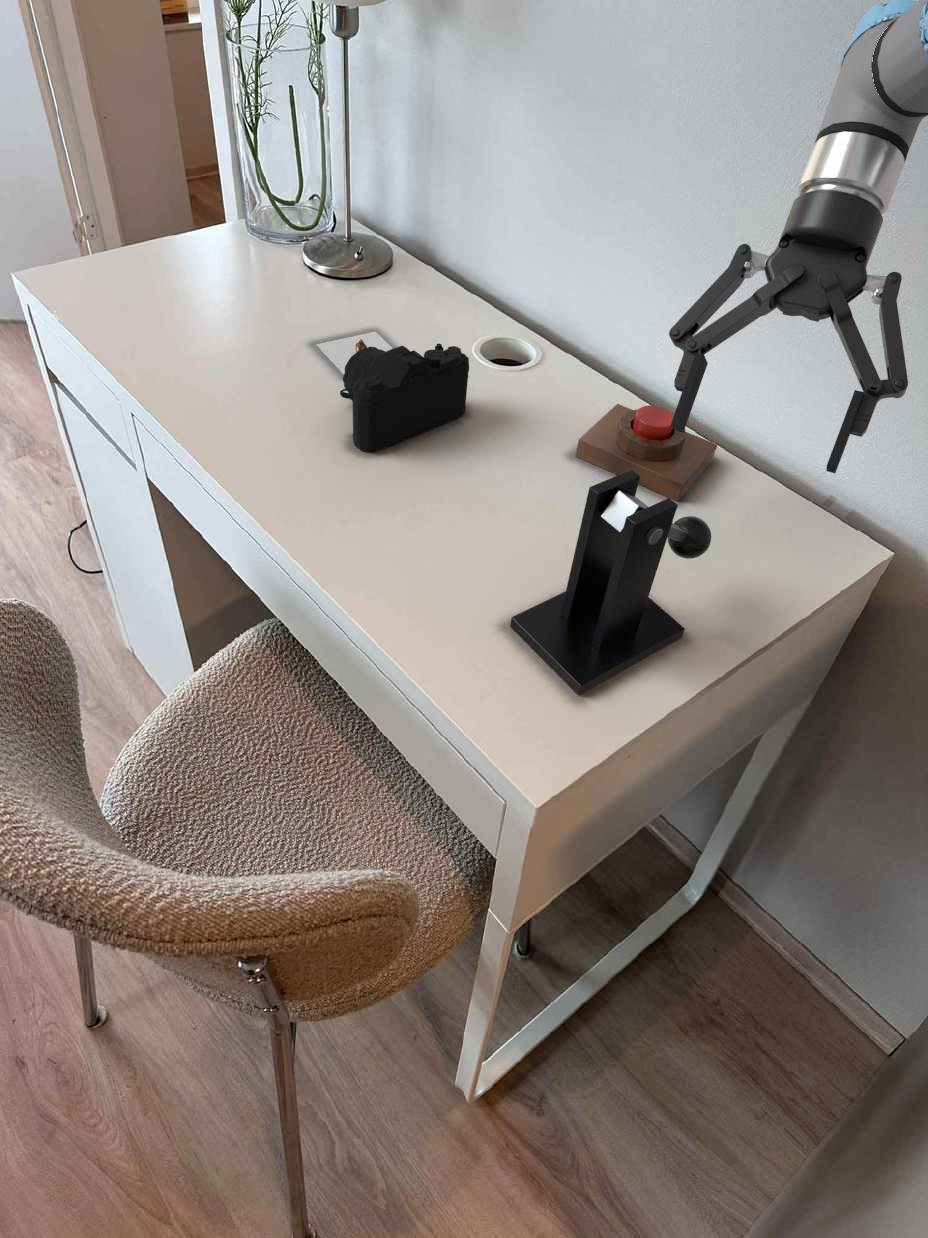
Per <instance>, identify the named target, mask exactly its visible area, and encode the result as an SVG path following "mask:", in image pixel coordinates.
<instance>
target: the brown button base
mask: <svg viewBox="0 0 928 1238" xmlns="http://www.w3.org/2000/svg"><path fill="white" fill-rule="evenodd" d="M638 409H639V408H637V409H632V408H630V407H627V406H624V405H622V404H620V403H616V404H615V405H614V406H613V407H612V408H611V409H610V410H609V411H608V412H606V413H605V415H603V416H602V417H601V418H600V419H599V420H598V421H597V422H596V423H595V424H594V425H593V426H591V428H589V429H588V430H587V431H586V432H584V434H583V435H582V436H581V437H579V438H578V442H577V446H576V447H577V448H576V451H575V457H576V458H578V459H580V460H582V461H585V462H587V463H590V464H592V465H593V466H597V467H598V468H601V469H603V470H606V471H608V472H610V473H612V474H614V475H616V476H617V475H620V474H622V473H625V472H627V471H629V470H633V471H634V472H636V473H637V474H638V475H640V480H639V483H638V486H642V487H643V488H646V489H648V490H651V491H652V492H655V493H657V494H660V495H661V496H664V497H666V498H669V499H671V500H672V501H674V502H679V501H680V499H682V497H683V496H684V495H685V494H686V492H688V490H689V489H690V488H691V487H692V485H693V484H694V483H695V482H696V480H698V478H699V477H700V476H701V475H702V474H703V472H704V471H705V470H706V469H707V468H708V467H709V465H711V463H712V462H713V460H714V456H715V454H716V450H717V448H718V444H716V443H714V442H712V441H709V440H707V439H704V438H702V437H699V436H698V435H695V434H692V433H690V432H688V431H686V428H685V429H684V432H679V431H675V429H674V428H673V429H672V432H671V435H670V437H669V438H668V439H665V440H661V441H659V440H649V439H646V438H644V437H642V436H639V435H638V434H637V433H636V432H635V431H634V430H633V424H634V420H635V416H636V412H637V410H638Z"/></svg>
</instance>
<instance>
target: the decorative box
mask: <svg viewBox="0 0 928 1238" xmlns="http://www.w3.org/2000/svg"><path fill="white" fill-rule="evenodd" d="M315 345H316V347H317V348H318V349H319V350H320V351H321V352H322V353H323V355H325V356H326V357H327V358H328V359H329V361H331V363H332V364H333V365H334V366H335V368H337V369H338V370H339V371H340V373H341V374H342V375H343V376H344V373H345V366H346V364H347V362H348V361H349V359H350V358H351V357H352V356H353V355H354V354H355V353H357V352H358V351H359V350H361V349H363V348H368V347H376V348H377V349H380V350H384V351H385V352H386V351H389V350H391V349H394V348H393V347H392V346H391V345H390V344H389V343H388V342H387V341H386V340H385V339H384V338H383V337H382V336H381V335H380V334H379V333H378V332H377V331H376V330H375V331H372V332H371V331H370V332H367V333H362V334H357V335H353V336H349V337H345V338H340V339H335V340H330V341H325V342H321V343H317V344H315Z"/></svg>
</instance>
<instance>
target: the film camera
mask: <svg viewBox="0 0 928 1238" xmlns="http://www.w3.org/2000/svg"><path fill="white" fill-rule="evenodd" d="M469 371H470V358H469V357H468V356H467V355H466V354H465V353H463V352H462V349H461V348H460V347H459V346H455V345H452V346H447V349H444V347H443V345H442V344H441V343H436V345H435V346H434V348H433V349H428V350H426V351H424V353H423V355H421V354H420V353H419V352H418V351H416V350H414V349H413V350H409V349H408V348H407V347H406V346H404V345H399V346H396V347H394V348H393V349H391V350H389V351H386V352H385V351H384V350H380V349H377V348H376V347H368V348H363V349H361V350H359V351H358V352H357V353H355V354H354V355H353V356H352V357H351V358H350V359H349V361H348V362H347V364H346V366H345V373H344V375H343V376H342V382H343V386H344V388H343V389H340V391H339V395H340V396H341V398H343V399H348V400H351V402H352V404H351V405H352V441H353V444H354V446H355V448H357V449H358V450H360V451H362V452H365V453H376V452H378V451H381V450H384V449H386V448H389V447H392V446H395V445H397V444H400V443H402V442H404V441H407V440H410V439H412V438H414V437H417V436H420V435H422V434H424V433H427V432H430V431H432V430H434V429H437V428H440V427H442V426H444V425H446V424H448V423H451V422H453V421H455V420H457V419H459V418H461V417H463V415H465V413H466V411H467V406H466V405H467V403H466V402H467V394H468V393H467V392H468V381H469Z"/></svg>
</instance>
